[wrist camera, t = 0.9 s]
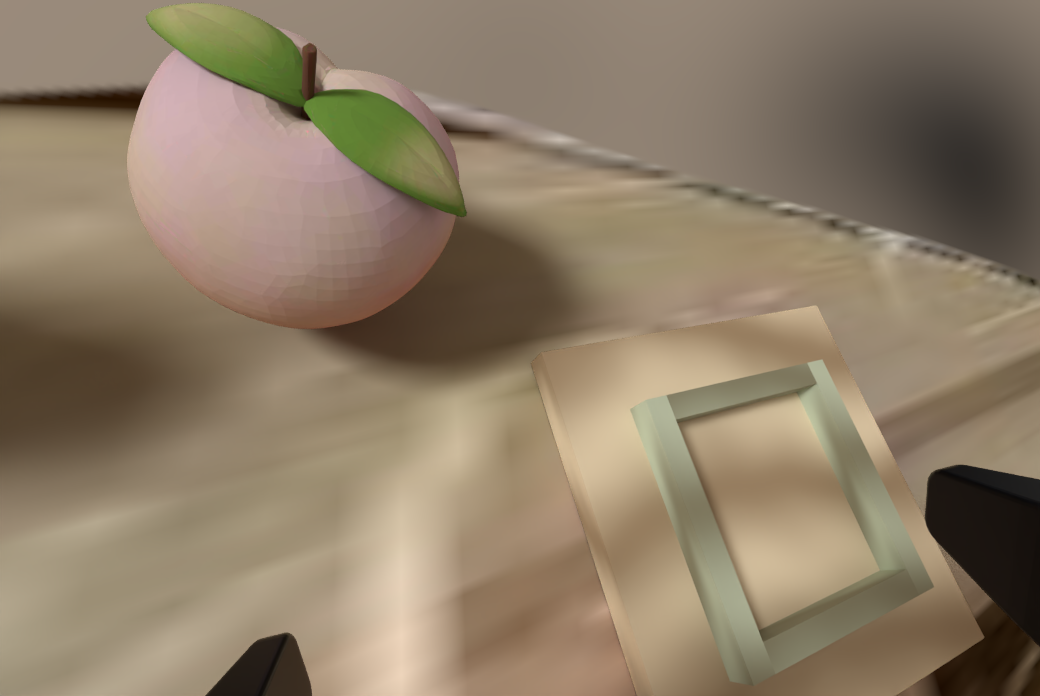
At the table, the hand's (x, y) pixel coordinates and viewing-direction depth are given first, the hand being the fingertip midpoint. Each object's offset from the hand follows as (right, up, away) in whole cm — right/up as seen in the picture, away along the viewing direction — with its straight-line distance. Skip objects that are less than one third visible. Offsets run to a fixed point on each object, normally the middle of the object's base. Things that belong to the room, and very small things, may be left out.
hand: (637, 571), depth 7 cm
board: (+8, -4, +16) cm, 19 cm away
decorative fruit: (-10, +6, +14) cm, 18 cm away
